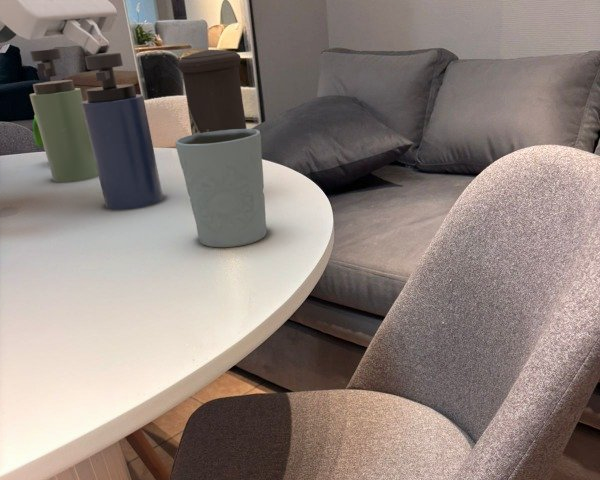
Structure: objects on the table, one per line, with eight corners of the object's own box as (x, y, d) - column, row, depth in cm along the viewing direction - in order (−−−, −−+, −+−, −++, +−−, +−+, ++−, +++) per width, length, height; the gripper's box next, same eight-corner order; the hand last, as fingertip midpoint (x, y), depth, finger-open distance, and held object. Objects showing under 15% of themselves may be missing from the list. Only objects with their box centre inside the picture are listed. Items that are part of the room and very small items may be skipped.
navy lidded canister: (110, 198, 105) (84, 88, 96) (164, 192, 105) (143, 81, 97) (101, 212, 97) (72, 93, 89) (161, 205, 98) (137, 86, 89)
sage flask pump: (40, 76, 117) (33, 50, 114) (68, 73, 117) (61, 47, 115) (29, 80, 110) (22, 52, 108) (59, 77, 110) (52, 49, 108)
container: (194, 195, 102) (169, 53, 91) (246, 185, 104) (229, 46, 94) (209, 206, 95) (184, 54, 84) (265, 195, 97) (248, 46, 87)
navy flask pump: (95, 87, 95) (87, 55, 93) (128, 84, 95) (122, 52, 93) (85, 92, 88) (77, 58, 86) (122, 89, 88) (115, 54, 86)
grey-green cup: (229, 254, 75) (212, 146, 68) (176, 241, 81) (156, 141, 75) (288, 230, 81) (278, 129, 74) (234, 220, 87) (221, 126, 81)
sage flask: (58, 174, 127) (33, 82, 119) (104, 169, 128) (82, 77, 119) (48, 184, 120) (21, 87, 111) (97, 178, 120) (73, 81, 111)
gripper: (63, -4, 99) (132, 61, 100) (-35, -1, 82) (49, 77, 84) (79, -43, 95) (150, 26, 97) (-21, -48, 79) (67, 34, 80)
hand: (102, 50), depth 90 cm, fingers closed, pressing on navy flask pump
